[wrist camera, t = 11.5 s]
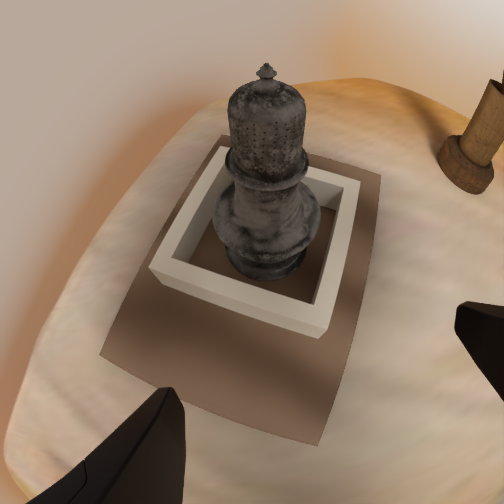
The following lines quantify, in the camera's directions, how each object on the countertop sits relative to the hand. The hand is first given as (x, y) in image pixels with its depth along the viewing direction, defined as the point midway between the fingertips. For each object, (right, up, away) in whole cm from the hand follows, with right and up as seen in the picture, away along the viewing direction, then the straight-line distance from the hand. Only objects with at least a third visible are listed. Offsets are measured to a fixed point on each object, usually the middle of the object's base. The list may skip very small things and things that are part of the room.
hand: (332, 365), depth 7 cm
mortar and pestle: (+20, +12, +16) cm, 28 cm away
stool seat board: (-2, +3, +12) cm, 12 cm away
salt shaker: (-1, +4, +11) cm, 12 cm away
